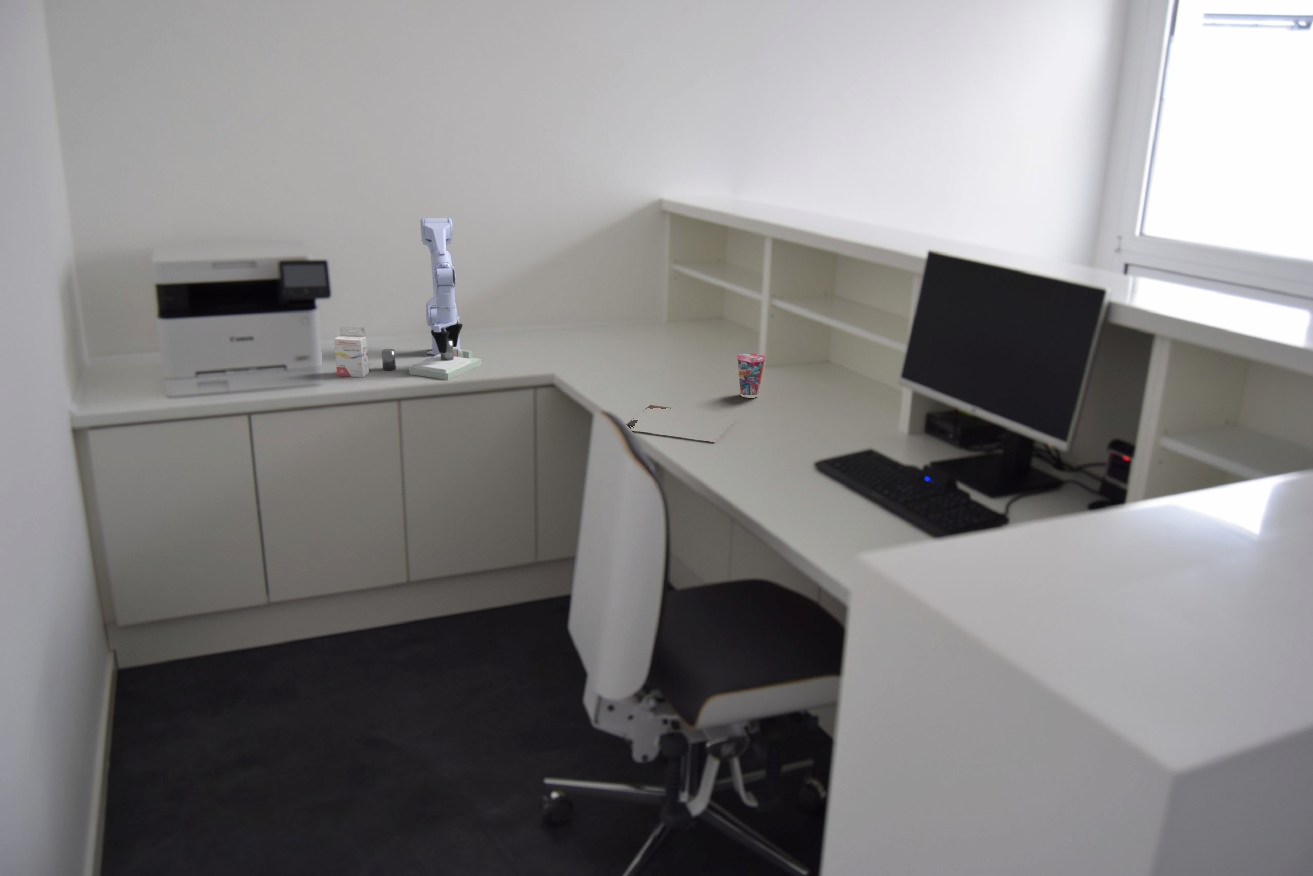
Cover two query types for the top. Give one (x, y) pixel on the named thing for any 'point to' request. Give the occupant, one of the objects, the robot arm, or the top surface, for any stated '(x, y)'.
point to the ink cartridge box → (351, 352)
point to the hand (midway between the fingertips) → (448, 349)
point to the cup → (750, 372)
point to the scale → (446, 365)
